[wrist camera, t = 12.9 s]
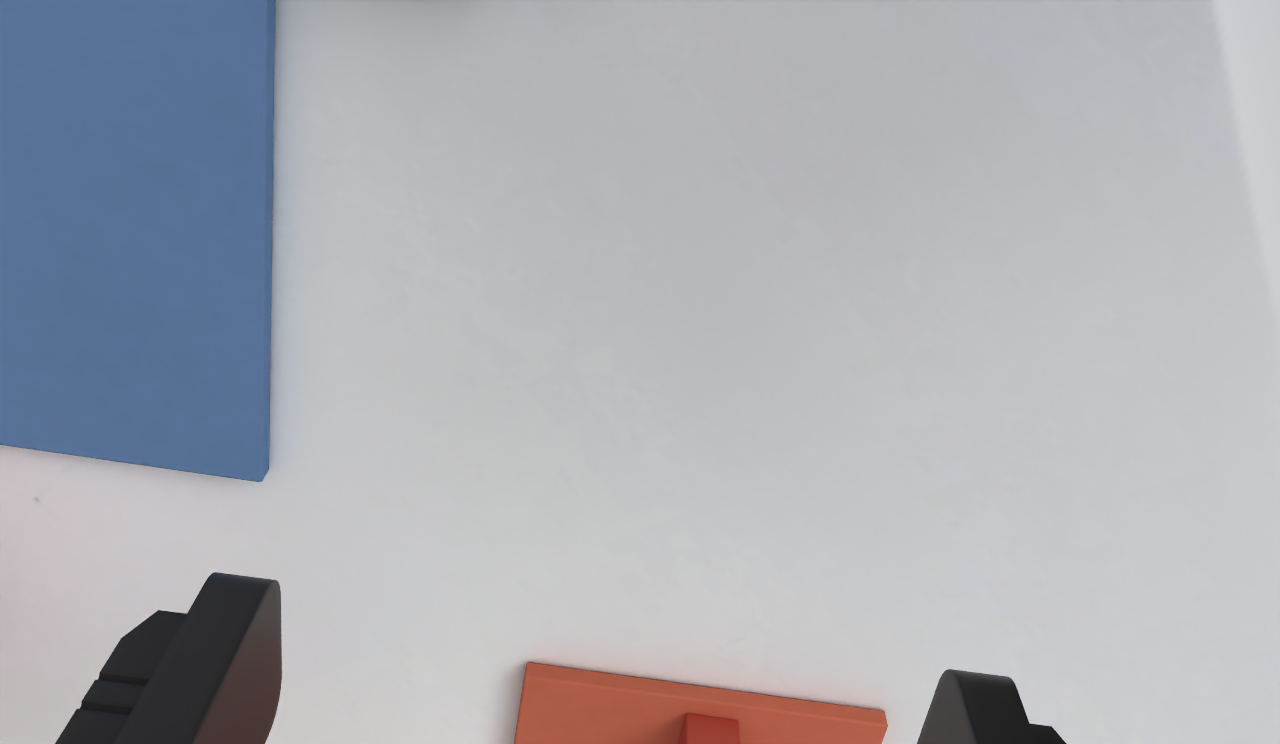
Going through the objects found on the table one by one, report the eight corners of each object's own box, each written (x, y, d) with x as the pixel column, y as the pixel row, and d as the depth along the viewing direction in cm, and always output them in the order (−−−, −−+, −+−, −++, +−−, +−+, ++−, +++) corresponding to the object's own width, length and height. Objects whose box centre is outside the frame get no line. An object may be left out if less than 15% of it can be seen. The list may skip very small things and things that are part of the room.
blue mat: (-260, -231, 22) (-283, -230, 21) (277, -136, 22) (268, -134, 22) (-144, 410, 28) (-160, 423, 28) (269, 470, 29) (262, 483, 28)
